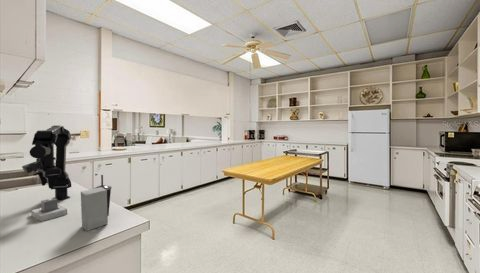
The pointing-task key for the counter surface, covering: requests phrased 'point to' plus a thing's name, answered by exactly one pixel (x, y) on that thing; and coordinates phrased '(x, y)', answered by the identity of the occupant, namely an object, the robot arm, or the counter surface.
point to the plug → (49, 205)
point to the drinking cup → (107, 192)
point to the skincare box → (94, 208)
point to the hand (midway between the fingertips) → (47, 186)
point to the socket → (48, 213)
